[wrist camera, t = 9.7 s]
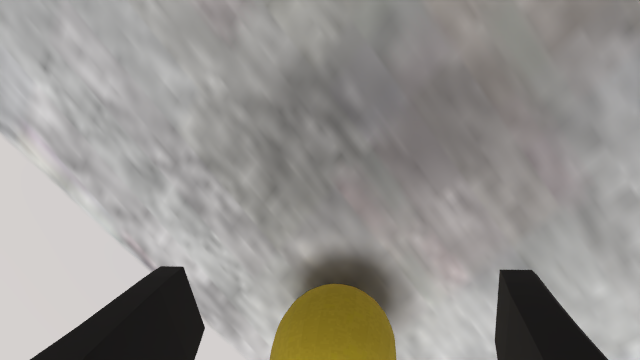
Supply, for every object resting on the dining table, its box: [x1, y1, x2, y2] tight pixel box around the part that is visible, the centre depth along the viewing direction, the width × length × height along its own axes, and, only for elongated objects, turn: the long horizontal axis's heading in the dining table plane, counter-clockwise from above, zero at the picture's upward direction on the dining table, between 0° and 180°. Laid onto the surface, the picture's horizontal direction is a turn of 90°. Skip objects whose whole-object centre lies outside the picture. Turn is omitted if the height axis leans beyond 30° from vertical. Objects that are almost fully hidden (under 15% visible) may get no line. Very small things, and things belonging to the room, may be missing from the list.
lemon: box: [270, 284, 396, 360], centre depth 20 cm, size 6×6×8 cm
